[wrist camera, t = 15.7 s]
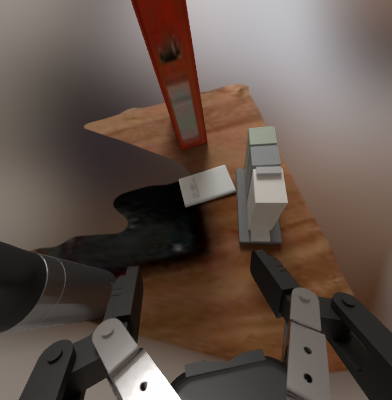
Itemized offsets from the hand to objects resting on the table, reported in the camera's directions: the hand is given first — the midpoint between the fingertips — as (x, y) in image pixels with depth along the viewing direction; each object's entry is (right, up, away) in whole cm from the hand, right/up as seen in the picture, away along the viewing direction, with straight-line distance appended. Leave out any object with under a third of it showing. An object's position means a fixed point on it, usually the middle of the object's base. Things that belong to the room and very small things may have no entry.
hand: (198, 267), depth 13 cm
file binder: (-3, +27, +45) cm, 52 cm away
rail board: (+13, +4, +29) cm, 32 cm away
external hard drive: (+3, +8, +34) cm, 35 cm away
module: (+13, +1, +25) cm, 28 cm away
